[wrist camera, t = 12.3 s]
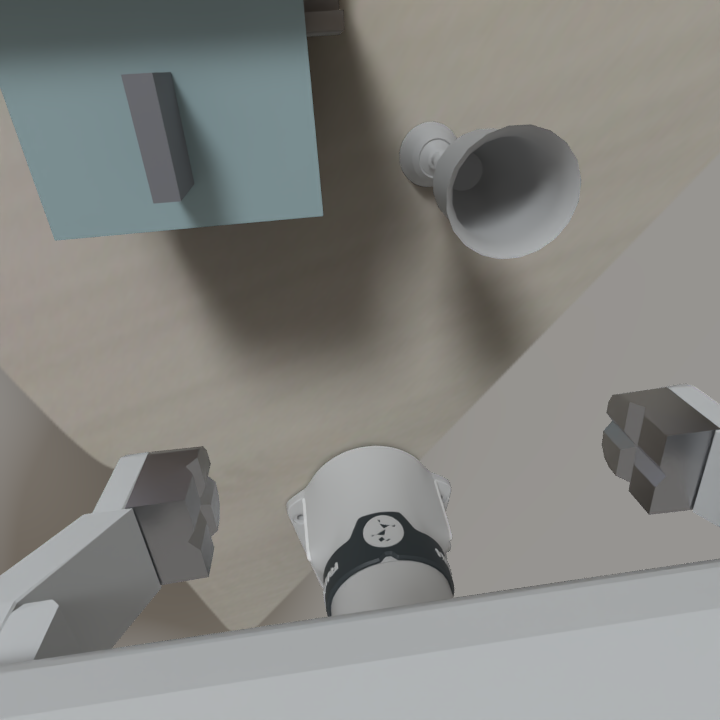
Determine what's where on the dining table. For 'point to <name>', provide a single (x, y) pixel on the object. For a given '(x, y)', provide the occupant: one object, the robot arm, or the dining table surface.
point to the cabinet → (162, 112)
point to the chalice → (496, 184)
